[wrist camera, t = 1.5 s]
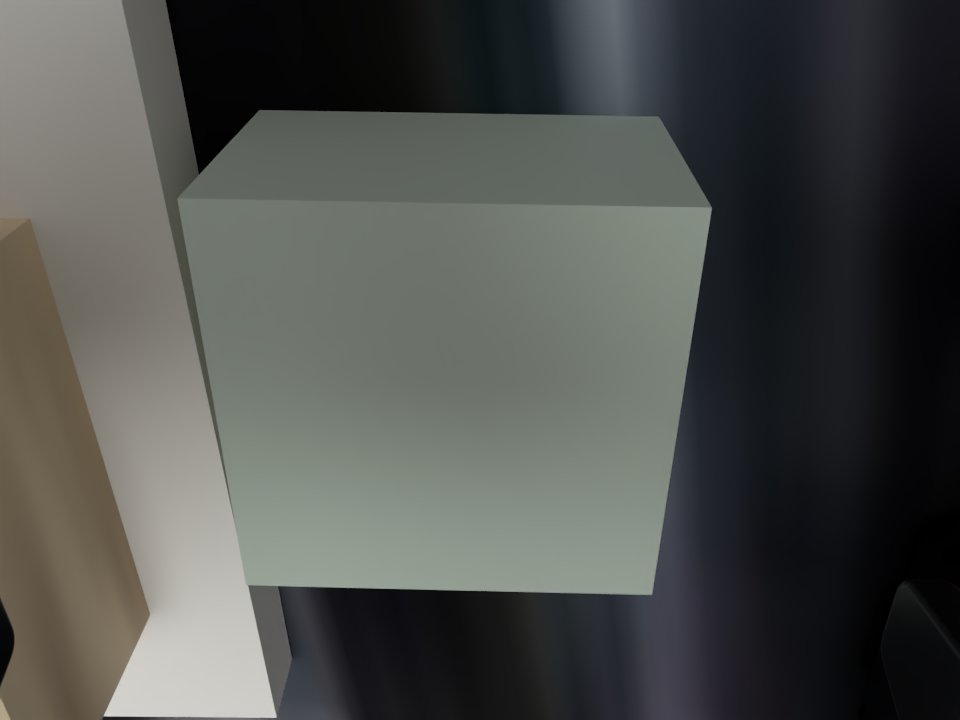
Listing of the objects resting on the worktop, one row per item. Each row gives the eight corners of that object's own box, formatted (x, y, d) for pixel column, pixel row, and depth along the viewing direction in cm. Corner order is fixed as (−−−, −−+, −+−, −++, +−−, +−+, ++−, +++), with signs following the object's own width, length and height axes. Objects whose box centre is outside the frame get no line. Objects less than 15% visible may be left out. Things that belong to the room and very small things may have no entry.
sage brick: (656, 113, 13) (712, 207, 10) (620, 435, 16) (651, 595, 13) (263, 107, 13) (177, 198, 10) (300, 429, 16) (245, 585, 13)
